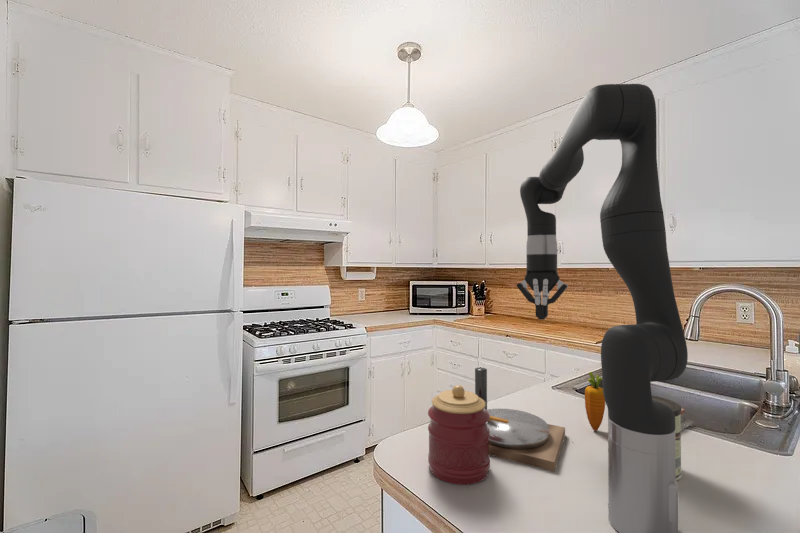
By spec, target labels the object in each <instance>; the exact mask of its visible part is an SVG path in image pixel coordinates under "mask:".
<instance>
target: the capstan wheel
mask: <svg viewBox="0 0 800 533" xmlns="http://www.w3.org/2000/svg"><path fill="white" fill-rule="evenodd" d="M474 394H476V395H477V396H478V397H480V398H481V399H483V400H484V401H485V403H486V406H485V409H486V410H487V411H488V412H489V414H490V418H489V420H488V421H487V426H488V428H489V430H490V435H489V443H491V444H494V445H497V446H501V447H506V448H513V449H529V448H535V447H539V446H542V445H544V444H545V443H546V442H547V441H548V440H549V426H548V424H549V423H547V422H546V421H545V420H544V419H543V418H541V417H539V416H538V415H535V414H533V413H530V412H528V411H523V410H518V409H513V408H512V409H511V408H490V409H489V408H488V369H487V368H485V367H476V368H474Z"/></svg>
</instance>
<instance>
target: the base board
mask: <svg viewBox="0 0 800 533" xmlns="http://www.w3.org/2000/svg"><path fill="white" fill-rule="evenodd" d="M547 424H548V426H549V440H548V441H547V442H546V443H545V444H544V445H542V446H539V447H535V448H529V449H513V448H506V447H501V446H497V445H494V444H491V443H489V456H492V457H495V458H496V457H497V458H500V459H504V460H508V461H510V462H511V461H512V462H515V463H520V464H523V465H527V466H530V467H535V468H538V469H543V470H546V471H550V472H555V471H556V468H557V464H558V460H559V458H560V454H561V451H562V448H563V443H564V440H565V436H566V427H564V426H560V425H554V424H550V423H547Z"/></svg>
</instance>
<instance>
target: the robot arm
mask: <svg viewBox="0 0 800 533" xmlns="http://www.w3.org/2000/svg"><path fill="white" fill-rule="evenodd" d="M657 135H658V133H657V105H656V99H655V95H654V92H653V90H652V89H651V88H650V87H649V86H648V85H645V84H641V83H604V84H598V85H596V86H594V87H592V88H591V89H589V91H588V92H586V94H585V95H584V97H583V98H582V100H581V101H580V102H579V104H578V106H577V108H576V110H575V112H574V114H573V117H572V118H571V120H570V122H569V124H568V126H567V128H566V129H565V132H564V134H563V136H562V138H561V141H560V143H559V145H558V146H557V148H556V150H554V153H553V154H551V156H550V158H549V159H548V160H547V161H546V162H545V164H544V165H543V166H542V168H541V169H540V172H539V174H538V175H539V176H528V177H526V178H524V179H523V181H522V182H521V184H520V188H519V194H520V199H521V202H522V205H523V208H524V212H525V218H526V221H527V222H526V223H527V229H526V230H527V233H526V234H527V239H526V274H525V275H524V279H523V280H522V281H521V282H519V283H516V287H517V289H518V290H519V291H520V293H521V294H523V296H524V298H525V299H526V300H527V301H528V302H529V303H532V304H534V305H535V317H536V318H537V319H538V320H541V321H542V320H546V318H548V316H549V305H550V304H554V303H556V301H557V300H558V299H559V298H561V296H562V295H563V293H564V292H565V291H566V289H568V288H569V287H568V284H567V283H565V282H563V281H562V280H560V276H559V274H558V252H559V250H558V241H557V217H556V215H555V214H554V213H552V212H547V211H544V210H542V209H541V208H540V206H539V205H552V204H553V205H554V204H556V203H558V202H559V201H561V199H562V198H563V196H564V192H565V191H566V187H567V185H568V184H569V183H570V182H571V181H573V179H574V178H575V177H576V176H577V175H578V174H579V172H580V171H581V170H582V168H583V164H584V160H585V157H584V156H585V154H584V150H583V147H584V146H585V145H587V143H589V142H591V141H592V140H596V141H598V140H599V141H607V140H608V141H610V140H611V141H615V140H616V141H617V140H618V141H620V142H619V143H620V146H621V155H622V156H621V167H620V171H619V173H618V176H617V177H616V179H615V181H614V183H613V185H612V186H611V188H610V190H609V191H608V192H607V193H608V194H607V195H606V197H605V199H604V201H603V202H602V206H601V208H600V213H599V218H600V219H599V221H600V230H601V239H602V240H601V241H602V245H603V246H602V247H603V251H604V253H605V255H606V257H607V258H608V260H609V262H610V264H611V265H612V266H613V268H614V269H615V271H616V272H617V274H618V275H619V277H620V278H621V279H622V281H623V283H624V284H625V285H626V287H627V289H628V291H629V293H630V296H631V299H632V303H633V306H634V311H635V312H634V313H635V320H636V321H635V322H636V324H635V323H633V324H618V325H613V326H611V327H610V328H608V330H606V331H605V333H604V335H603V337H602V341H601V345H600V346H601V347H600V366H601V378H602V380H601V382H602V389H603V394H604V398H605V405H606V407H607V427H608V430H607V431H608V432H607V437H608V438H607V443H608V445H607V454H608V456H607V458H608V460H607V463H608V465H607V467H608V469H607V473H608V478H607V479H608V481H607V484H608V488H607V490H608V491H607V492H608V493H607V494H608V495H607V496H608V497H607V498H608V500H607V501H608V503H607V506H608V508H607V509H608V510H607V511H608V513H607V514H608V521H609V523H610V525H611V526H612V527H613V529H614V530H616V531H617V532H618V533H679V485H678V482H677V481H676V464H675V414H674V412H673V411H672V409H671V408H669V407H668V406H666V405H664V404H662V403H660V402H657V401H655V400H652V396H653V395H652V385H651V383H653V382H664V381H672V380H675V379H677V378H679V377H681V375H683V373H685V370H686V368H687V366H688V365H687V364H688V360H689V359H688V354H689V353H688V346H687V341H686V336H685V332H684V329H683V324H682V320H681V316H680V313H679V309H678V305H677V300H676V295H675V291H674V285H673V280H672V272H671V266H670V259H669V255H668V254H669V252H668V245H667V234H666V233H667V232H666V225H665V224H666V223H665V216H664V215H665V214H664V210H663V205H662V204H663V203H662V198H661V190H660V189H661V188H660V181H659V168H658V158H657V156H658V154H657V151H658V148H657V147H658V146H657V138H658V137H657ZM556 285H557V286H556ZM528 286H529V288H530V290H532V291H533V295H532V293H531V292H530V291H529V290H528ZM555 286H556V289H557V291H556V292H555V293H554V294H553V295H552V296H551V298H550V292H551V291H553V289H554V288H555Z"/></svg>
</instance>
